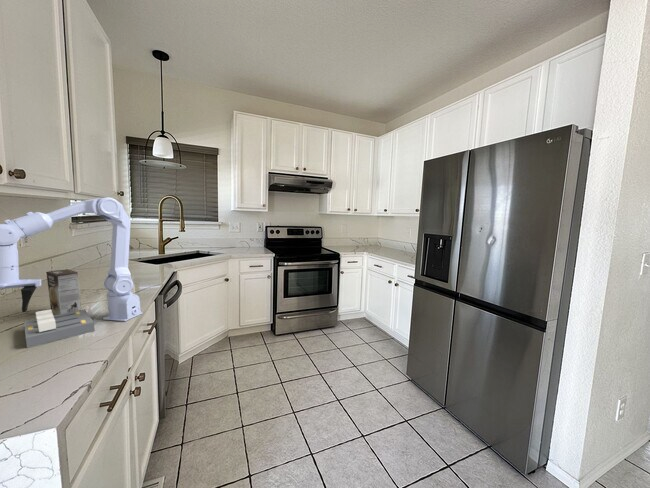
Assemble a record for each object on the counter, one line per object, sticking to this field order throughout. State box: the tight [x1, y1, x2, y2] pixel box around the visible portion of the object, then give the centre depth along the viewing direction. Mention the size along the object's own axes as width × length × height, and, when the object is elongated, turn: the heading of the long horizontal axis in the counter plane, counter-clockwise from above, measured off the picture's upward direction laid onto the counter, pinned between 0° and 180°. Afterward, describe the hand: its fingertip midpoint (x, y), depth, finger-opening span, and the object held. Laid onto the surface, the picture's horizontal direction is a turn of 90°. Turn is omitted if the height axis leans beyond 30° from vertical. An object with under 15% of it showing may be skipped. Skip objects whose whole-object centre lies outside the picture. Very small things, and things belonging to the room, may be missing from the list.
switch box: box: [23, 309, 96, 349], centre depth 88 cm, size 15×17×3 cm
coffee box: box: [46, 268, 82, 315], centre depth 102 cm, size 9×6×16 cm
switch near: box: [38, 318, 56, 332], centre depth 82 cm, size 4×3×2 cm
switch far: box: [35, 308, 52, 320], centre depth 89 cm, size 4×3×2 cm
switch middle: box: [37, 313, 54, 324], centre depth 85 cm, size 4×3×2 cm
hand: (4, 313), depth 77 cm, fingers open, 7 cm apart
